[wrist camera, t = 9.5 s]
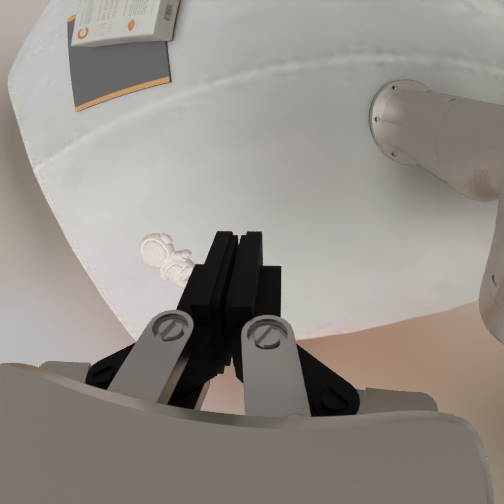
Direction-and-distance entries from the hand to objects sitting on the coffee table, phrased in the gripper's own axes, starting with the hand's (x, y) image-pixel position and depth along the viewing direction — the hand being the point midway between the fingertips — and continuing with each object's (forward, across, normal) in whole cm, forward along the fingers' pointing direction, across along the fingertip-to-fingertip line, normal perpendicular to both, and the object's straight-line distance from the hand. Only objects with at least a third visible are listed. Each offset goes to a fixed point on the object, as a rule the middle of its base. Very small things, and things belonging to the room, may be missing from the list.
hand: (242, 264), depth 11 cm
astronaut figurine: (+29, +17, +20) cm, 40 cm away
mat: (+29, +22, -18) cm, 40 cm away
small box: (+25, +11, -19) cm, 33 cm away
